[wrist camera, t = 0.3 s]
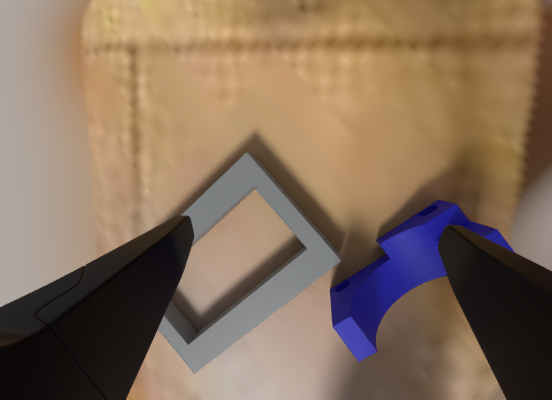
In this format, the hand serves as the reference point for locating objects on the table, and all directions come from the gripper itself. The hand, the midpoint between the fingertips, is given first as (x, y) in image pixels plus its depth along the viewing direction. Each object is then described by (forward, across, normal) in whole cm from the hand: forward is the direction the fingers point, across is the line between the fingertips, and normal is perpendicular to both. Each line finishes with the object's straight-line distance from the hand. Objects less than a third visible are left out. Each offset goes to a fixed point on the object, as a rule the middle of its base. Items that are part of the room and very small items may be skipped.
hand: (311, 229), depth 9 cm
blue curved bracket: (+10, -8, +11) cm, 17 cm away
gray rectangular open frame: (+10, +7, +12) cm, 18 cm away
